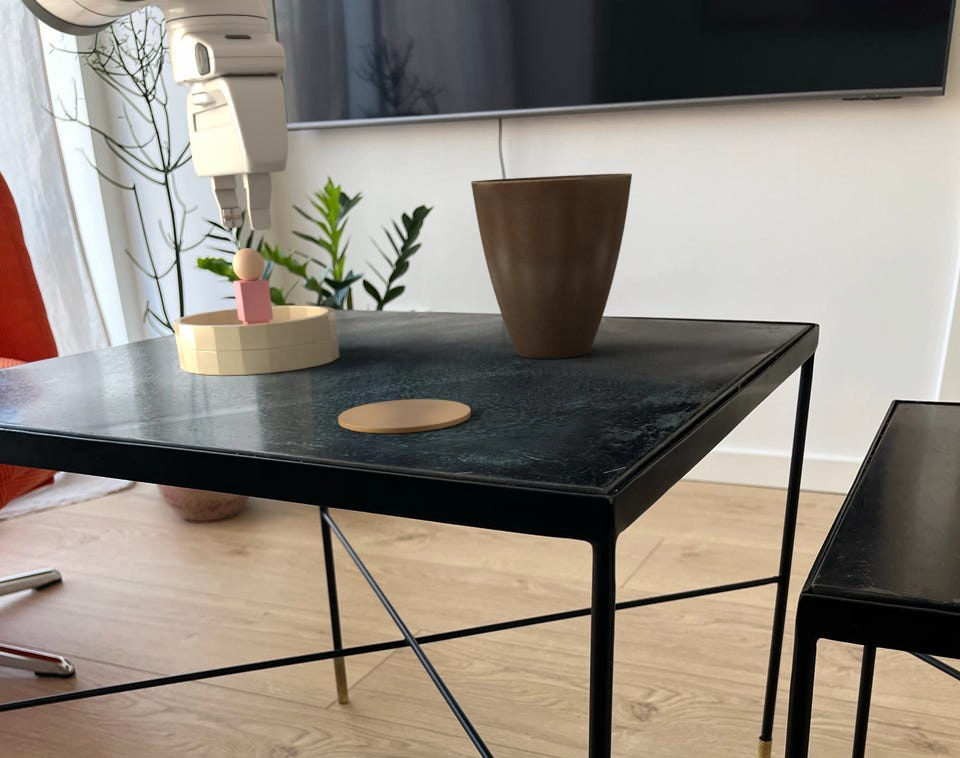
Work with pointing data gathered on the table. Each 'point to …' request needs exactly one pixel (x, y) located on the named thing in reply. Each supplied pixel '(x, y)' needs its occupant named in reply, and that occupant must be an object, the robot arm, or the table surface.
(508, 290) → the flower pot
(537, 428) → the table surface
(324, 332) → the basin
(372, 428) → the mat
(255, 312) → the doll
